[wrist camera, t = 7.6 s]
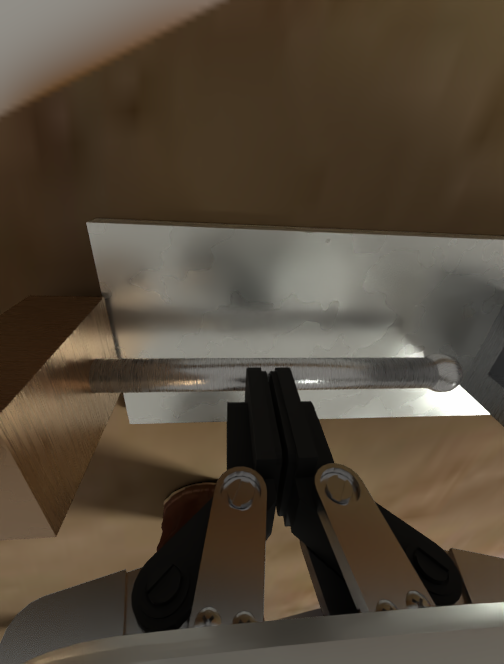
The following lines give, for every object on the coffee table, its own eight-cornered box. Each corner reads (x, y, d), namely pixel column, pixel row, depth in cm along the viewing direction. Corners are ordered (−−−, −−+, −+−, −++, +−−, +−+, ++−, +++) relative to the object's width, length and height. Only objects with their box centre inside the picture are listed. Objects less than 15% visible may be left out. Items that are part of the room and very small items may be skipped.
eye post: (633, 241, 15) (872, 287, 9) (520, 402, 20) (630, 490, 15) (95, 218, 12) (-9, 262, 7) (134, 411, 18) (94, 522, 12)
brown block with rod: (445, 302, 14) (611, 406, 8) (411, 382, 17) (519, 507, 11) (29, 295, 12) (-161, 424, 6) (61, 387, 15) (-52, 543, 9)
